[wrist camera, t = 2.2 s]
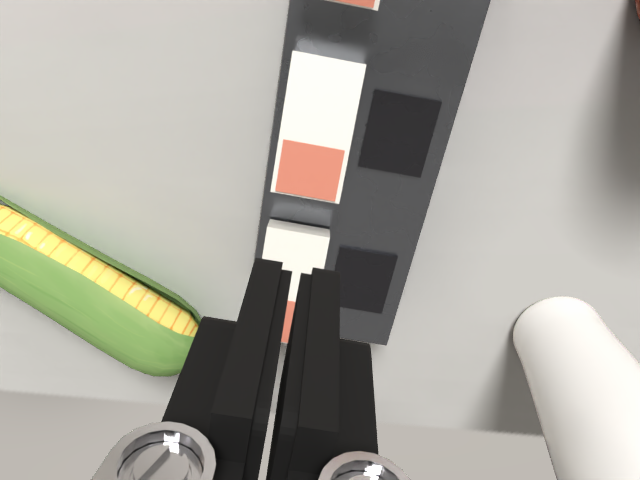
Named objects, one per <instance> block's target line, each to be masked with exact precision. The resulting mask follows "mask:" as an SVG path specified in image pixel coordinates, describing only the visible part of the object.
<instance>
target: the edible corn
mask: <svg viewBox="0 0 640 480" xmlns="http://www.w3.org/2000/svg"><path fill="white" fill-rule="evenodd" d="M0 200H2V201H3V202H5V203H6V204H8V205H9V206H5V205H2V204H0V287H1V288H3V289H4V290H6V291H7V292H9V293H11V294H12V295H14V296H16V297H17V298H19V299H20V300H22V301H24V302H25V303H27V304H29V305H30V306H32V307H34V308H35V309H37V310H38V311H40V312H42V313H43V314H45V315H46V316H48V317H49V318H51V319H52V320H54V321H56V322H57V323H59V324H60V325H62V326H63V327H65V328H67V329H68V330H70V331H71V332H73V333H74V334H76V335H77V336H79V337H81V338H82V339H84V340H85V341H87V342H88V343H90V344H92V345H93V346H95V347H96V348H98V349H100V350H101V351H103V352H105V353H106V354H108V355H110V356H111V357H113V358H115V359H116V360H118V361H120V362H121V363H123V364H125V365H127V366H128V367H130V368H132V369H135V370H138V371H140V372H142V373H144V374H149V375H152V376H173V375H176V374H179V373H181V370H182V367H183V365H184V362H185V360H186V357H187V355H188V352H189V349H190V347H191V344H192V342H193V339H194V337H195V334H196V332H197V329H198V326H199V324H200V322H201V318H200V317H199V315H198V313H197V312H196V310H195V309H194V308H193V307H192V306H190V305H189V304H188V303H187V302H186V301H185V300H184V299H182V298H181V297H180V296H179V295H177V294H175V293H173V292H172V291H170V290H168V289H167V288H165V287H163V286H161V285H160V284H158V283H156V282H155V281H153V280H151V279H149V278H147V277H146V276H144V275H142V274H140V273H138V272H136V271H134V270H132V269H131V268H129V267H127V266H125V265H123V264H121V263H119V262H117V261H116V260H114V259H112V258H110V257H108V256H106V255H105V254H103V253H101V252H99V251H97V250H96V249H94V248H92V247H90V246H88V245H87V244H85V243H83V242H81V241H79V240H78V239H76V238H74V237H72V236H70V235H69V234H67V233H65V232H63V231H61V230H60V229H58V228H56V227H54V226H53V225H51V224H49V223H47V222H45V221H44V220H42V219H40V218H38V217H37V216H35V215H33V214H31V213H30V212H28V211H26V210H24V209H23V208H21V207H19V206H17V205H16V204H14V203H12V202H11V201H9V200H7V199H5V198H4V197H2V196H0ZM10 206H11V207H10Z"/></svg>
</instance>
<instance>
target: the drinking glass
mask: <svg viewBox="0 0 640 480" xmlns="http://www.w3.org/2000/svg"><path fill="white" fill-rule="evenodd" d="M513 342H514V346H515V349H516V352H517V354H518V356H519V358H520V361H521V363H522V366H523V369H524V372H525V375H526V379H527V382H528V385H529V388H530V391H531V395H532V398H533V401H534V405H535V408H536V411H537V415H538V418H539V421H540V425H541V428H542V431H543V435H544V438H545V441H546V445H547V448H548V452H549V455H550V458H551V461H552V465H553V468H554V471H555V474H556V478H557V480H640V363H639V362H638V361H637V360H636V359H635V357H634V356H633V355H632V354H631V353H630V352H629V351H628V350H627V348H626V347H625V346H624V345H623V344H622V343H621V342H620V340H619V339H618V338H617V337H616V336H615V335H614V334H613V332H612V331H611V330H610V329H609V328H608V327H607V325H606V324H605V322H604V321H603V320H602V318H601V317H600V315H599V314H598V313H597V311H596V310H595V309H594V308H593V307H592V306H590V305H589V304H588V303H586V302H584V301H582V300H580V299H577V298H573V297H567V296H557V297H551V298H547V299H544V300H541V301H539V302H536V303H535V304H533V305H531V306H530V307H529V308H527V309H526V310H525V311H524V312H523V313H522V314H521V315H520V317H519V318H518V320H517V322H516V324H515V326H514V330H513Z"/></svg>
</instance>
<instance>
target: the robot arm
mask: <svg viewBox="0 0 640 480" xmlns="http://www.w3.org/2000/svg"><path fill="white" fill-rule="evenodd" d="M282 265H283V262H279V261H273V260H267V259H262V258H255V261H254V265H253V268H252V272H251V275H250V278H249V282H248V285H247V289H246V292H245V296H244V299H243V303H242V306H241V310H240V313H239V317H238V320H237V322H235V321H229V320H223V319H217V318H211V317H205V316H204V317H203V318H202V319H201V322H200V324H199V326H198V329H197V332H196V334H195V337H194V339H193V342H192V344H191V347H190V349H189V352H188V355H187V357H186V360H185V362H184V365H183V367H182V370H181V373H180V375H179V378H178V380H177V383H176V385H175V388H174V391H173V393H172V396H171V398H170V401H169V403H168V406H167V409H166V411H165V414H164V416H163V419H162V421H161V422H158V423H150V424H148V425H145V426H142V427H139V428H136V429H134V430H133V431H131V432H130V433H128V434H127V435H125V436H123V437H122V438H121V439H120V440H119V441H118V443H117V444H116V445H115V446H114V447H113V448H112V449H111V451H110V452H109V453H108V455H107V456H106V458H105V459H104V461H103V463H102V464H101V466H100V467H99V468H98V470H97V471H96V473H95V474H94V476H93V477H92V479H91V480H258V475H259V470H260V464H261V459H262V453H263V448H264V442H265V437H266V431H267V425H268V419H269V414H270V408H271V402H272V395H273V389H274V383H275V377H276V370H277V364H278V358H279V352H280V345H281V339H282V333H283V327H284V320H285V314H286V308H287V302H288V295H289V289H290V283H291V277H292V271H289V270H283V269H282ZM266 480H410V478H409V477H408V476H407V475H406V474H405V473H404V471H403V470H402V469H401V468H400V467H398V466H397V465H396V464H394V463H393V462H392V461H390V460H389V459H387V458H384V457H382V456H380V455H378V444H377V430H376V415H375V401H374V387H373V373H372V358H371V348H370V345H369V343H363V342H357V341H351V340H345V339H340V272H338V271H332V270H326V269H320V268H314V267H313V269H312V273H311V274H306V273H301V275H300V280H299V286H298V291H297V296H296V302H295V307H294V312H293V318H292V323H291V328H290V333H289V339H288V344H287V349H286V355H285V360H284V365H283V371H282V376H281V382H280V388H279V394H278V401H277V408H276V415H275V422H274V429H273V435H272V442H271V449H270V456H269V463H268V469H267V476H266Z"/></svg>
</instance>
